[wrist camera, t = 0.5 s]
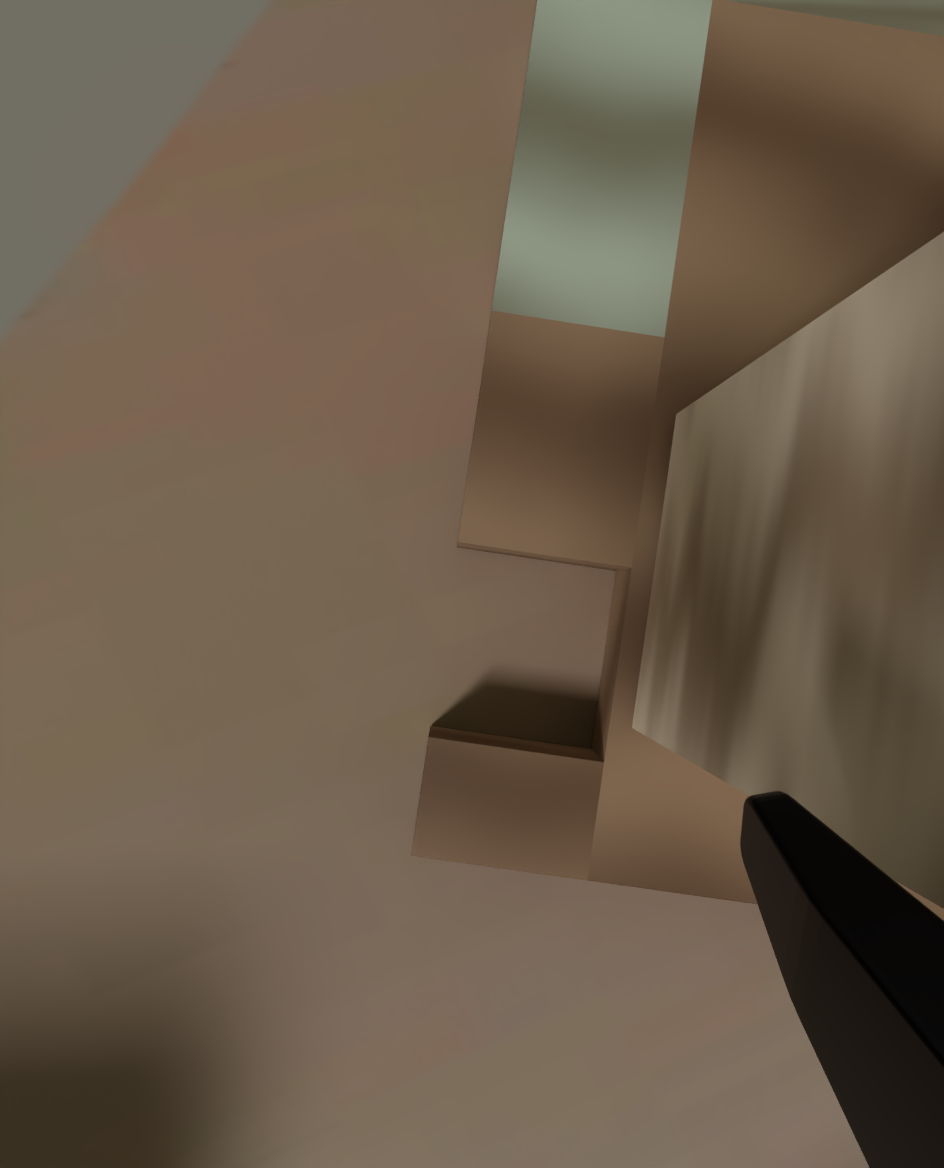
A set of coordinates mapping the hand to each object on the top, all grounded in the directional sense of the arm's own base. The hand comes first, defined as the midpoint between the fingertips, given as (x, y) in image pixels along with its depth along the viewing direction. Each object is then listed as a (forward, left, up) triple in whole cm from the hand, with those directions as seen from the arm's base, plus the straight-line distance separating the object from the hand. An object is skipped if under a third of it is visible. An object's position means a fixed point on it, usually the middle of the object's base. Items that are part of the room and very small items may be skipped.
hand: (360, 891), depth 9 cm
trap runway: (-3, -12, -14) cm, 19 cm away
